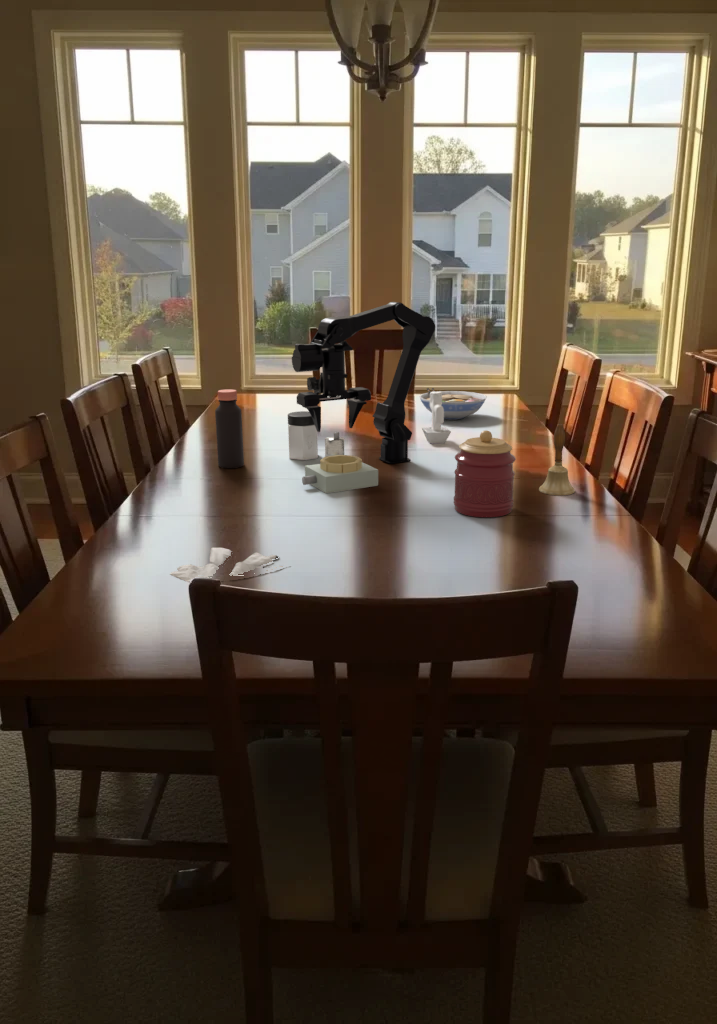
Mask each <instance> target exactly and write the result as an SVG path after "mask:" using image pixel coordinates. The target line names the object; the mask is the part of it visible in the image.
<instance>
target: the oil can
mask: <svg viewBox="0 0 717 1024" xmlns="http://www.w3.org/2000/svg"><path fill="white" fill-rule="evenodd" d="M324 452H325V453H324V454H325V455H324V457H326V456H334V455H345V438H344V437H341V436H340V432H339V431H336V432H335V431H334V432H333V436H329V437H328V436H327V437H325V438H324Z"/></svg>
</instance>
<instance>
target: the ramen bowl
mask: <svg viewBox="0 0 717 1024" xmlns="http://www.w3.org/2000/svg"><path fill="white" fill-rule="evenodd" d="M426 391H427V392H425V393H422V394H420V395H419V399H420V402H421V403H422V404H423V405H422V406H424V408H425V409H426V410H427V411H429V412H430V413H431V414H432V410H431V409H430V393H431V392H433V391H435V388H434V387H432V388H431V390H430V388H429V387H427V388H426ZM439 391H441V392H442V404H441V406H442V407H443V409H444V420H450V421H451V420H454V421H455V420H462V419H465V417H468V416H470V415H473V414H475V413H476V412H478V411H479V410H480V409H481V408H482V406H483V404H484V403H485V401H486V399H487V398H488V396H487V395H485V394H483V393H478V392H473V391H463V390H461V391H460V390H439ZM439 391H438V390H437V392H439ZM435 392H436V391H435Z"/></svg>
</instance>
